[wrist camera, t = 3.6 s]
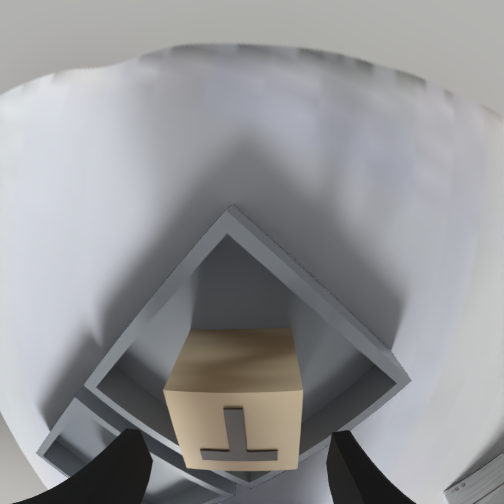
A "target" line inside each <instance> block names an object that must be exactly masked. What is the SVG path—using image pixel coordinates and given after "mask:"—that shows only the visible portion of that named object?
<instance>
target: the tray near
mask: <svg viewBox="0 0 504 504" xmlns="http://www.w3.org/2000/svg"><path fill="white" fill-rule="evenodd" d="M284 327H291V330H292V335H293V340H294V345H295V350H296V355H297V361H298V366H299V371H300V376H301V381H302V387H303V402H302V418H301V432H300V445H299V457H298V464H299V463H300V462H302V461H304V460H305V459H307V458H309V457H310V456H312V455H314V454H315V453H317V452H318V451H320V450H322V449H323V448H325V447H326V446H328V445H329V444H330V441H331V435H332V432H337V431H344V430H349V431H350V430H351V429H352V428H354V427H355V426H357V425H358V424H359V423H361V422H362V421H363V420H365V419H366V418H367V417H369V416H370V415H371V414H372V413H374V412H375V411H376V410H378V409H379V408H380V407H381V406H383V405H384V404H385V403H386V402H387V401H389V400H390V399H391V398H392V397H393V396H395V395H396V394H397V393H398V392H399V391H400V390H401V389H403V388H404V387H405V386H406V385H407V384H408V383H409V382H410V381H412V380H411V379H410V377H409V376H408V375H407V373H406V372H405V370H404V369H403V367H402V366H401V364H400V363H399V362H398V360H397V359H396V357H395V356H394V354H393V353H392V352H391V351H390V350H389V349H388V348H387V347H386V346H385V345H384V344H383V343H382V342H381V341H380V340H379V339H378V338H377V337H376V336H375V335H374V334H373V333H372V332H371V331H370V330H369V329H367V328H366V327H365V326H364V325H363V324H362V323H361V322H360V321H359V320H358V319H357V318H356V317H355V316H354V315H353V314H352V313H351V312H350V311H349V310H347V309H346V308H345V307H344V306H343V305H342V304H341V303H340V302H339V301H338V300H337V299H336V298H335V297H334V296H333V295H332V294H330V293H329V292H328V291H327V290H326V289H325V288H324V287H323V286H322V285H321V284H320V283H319V282H318V281H317V280H315V279H314V278H313V277H312V276H311V275H310V274H309V273H308V272H307V271H306V270H305V269H304V268H303V267H301V266H300V265H299V264H298V263H297V262H296V261H295V260H294V259H293V258H292V257H291V256H289V255H288V254H287V253H286V252H285V251H284V250H283V249H282V248H281V247H280V246H279V245H277V244H276V243H275V242H274V241H273V240H272V239H271V238H270V237H269V236H268V235H266V234H265V233H264V232H263V231H262V230H261V229H260V228H259V227H258V226H256V225H255V224H254V223H253V222H252V221H251V220H250V219H249V218H248V217H246V216H245V215H244V214H243V213H242V212H241V211H240V210H239V209H238V208H236V207H235V206H234V205H232V206H230V207H229V208H228V209H227V210H225V212H224V213H223V214H222V215H221V216H220V217H219V218H218V219H217V221H216V222H215V223H214V224H213V225H212V226H211V227H210V229H209V230H208V231H207V232H206V233H205V234H204V235H203V237H202V238H201V239H200V240H199V241H198V242H197V244H196V245H195V246H194V247H193V248H192V249H191V251H190V252H189V253H188V254H187V255H186V256H185V258H184V259H183V260H182V261H181V262H180V263H179V265H178V266H177V267H176V268H175V269H174V271H173V272H172V273H171V274H170V275H169V277H168V278H167V279H166V280H165V281H164V283H163V284H162V285H161V286H160V287H159V289H158V290H157V291H156V292H155V294H154V295H153V296H152V297H151V298H150V300H149V301H148V302H147V303H146V305H145V306H144V307H143V308H142V310H141V311H140V312H139V313H138V315H137V316H136V317H135V318H134V320H133V321H132V322H131V323H130V325H129V326H128V327H127V328H126V330H125V331H124V332H123V334H122V335H121V336H120V337H119V339H118V340H117V341H116V343H115V344H114V345H113V346H112V348H111V349H110V350H109V352H108V353H107V354H106V356H105V357H104V358H103V360H102V361H101V362H100V363H99V365H98V366H97V367H96V369H95V370H94V371H93V373H92V374H91V376H90V377H89V378H88V380H87V381H86V382H85V384H84V386H85V387H86V388H87V389H88V390H90V391H91V392H92V393H93V394H95V395H96V396H97V397H98V398H99V399H101V400H102V401H103V402H104V403H106V404H107V405H108V406H110V407H111V408H112V409H113V410H115V411H116V412H117V413H119V414H120V415H122V416H123V417H124V418H126V419H127V420H128V421H130V422H131V423H133V424H134V425H135V426H137V427H138V428H140V429H141V430H143V431H144V432H146V433H147V434H149V435H150V436H152V437H153V438H155V439H156V440H158V441H160V442H161V443H163V444H164V445H166V446H168V447H169V448H171V449H173V450H174V451H176V452H178V453H179V454H181V455H182V452H181V449H180V446H179V443H178V440H177V437H176V434H175V430H174V427H173V424H172V420H171V417H170V414H169V410H168V407H167V403H166V399H165V396H164V392H163V389H164V387H165V385H166V382H167V380H168V378H169V376H170V373H171V371H172V369H173V367H174V364H175V362H176V360H177V358H178V356H179V353H180V351H181V349H182V347H183V345H184V342H185V340H186V338H187V336H188V334H189V331H190V330H221V329H261V328H284ZM211 471H213V472H215V473H217V474H219V475H221V476H223V477H225V478H227V479H229V480H231V481H233V482H236V483H238V484H240V485H242V486H245V487H247V488H249V489H251V488H253V487H255V486H257V485H259V484H261V483H263V482H265V481H267V480H269V479H271V478H273V477H275V476H277V475H279V474H281V473H283V472H284V471H286V470H274V471H222V470H211Z"/></svg>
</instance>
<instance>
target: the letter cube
mask: <svg viewBox="0 0 504 504" xmlns="http://www.w3.org/2000/svg"><path fill="white" fill-rule="evenodd" d="M163 392H164V396H165V399H166V403H167V407H168V410H169V414H170V417H171V420H172V424H173V427H174V430H175V434H176V437H177V440H178V443H179V446H180V449H181V452H182V455H183V458H184V461H185V464H186V467H187V468H192V469H204V470H222V471H274V470H292V469H297V468H298V457H299V445H300V432H301V418H302V402H303V387H302V381H301V376H300V371H299V366H298V361H297V355H296V350H295V345H294V340H293V335H292V330H291V327H284V328H261V329H221V330H190V331H189V334H188V336H187V338H186V340H185V342H184V345H183V347H182V349H181V351H180V353H179V356H178V358H177V360H176V362H175V364H174V367H173V369H172V371H171V373H170V376H169V378H168V380H167V382H166V385H165V387H164V389H163Z"/></svg>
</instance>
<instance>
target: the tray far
mask: <svg viewBox="0 0 504 504" xmlns="http://www.w3.org/2000/svg"><path fill="white" fill-rule="evenodd" d="M126 428H130V429H136V430H140V431H141V433H142V436H143V438H144V440H145V443H146V445H147V448H148V450H149V452H150V454H151V457H152V459H153V464H152V470H151V475H150V479H149V483H148V486H147V489H146V491H145V494H144V497H143V500H142V502H141V504H217V503H219V502H222V501H224V500H227V499H229V498H231V497H234V496H235V490H236V482H233V481H231V480H229V479H227V478H225V477H223V476H221V475H219V474H217V473H215V472H213V471H211V470H204V469H192V468H187V467H186V464H185V461H184V458H183V455H181V454H179V453H178V452H176V451H174V450H173V449H171V448H169V447H168V446H166V445H164V444H163V443H161V442H160V441H158V440H156V439H155V438H153V437H152V436H150V435H149V434H147V433H146V432H144V431H143V430H141V429H140V428H138V427H137V426H135V425H134V424H133V423H131V422H130V421H128V420H127V419H126V418H124V417H123V416H122V415H120V414H119V413H117V412H116V411H115V410H113V409H112V408H111V407H110V406H108V405H107V404H106V403H104V402H103V401H102V400H101V399H99V398H98V397H97V396H96V395H95V394H93V393H92V392H91V391H90V390H88V389H87V388H86V387H85V386H83V387H82V388H81V390H80V391H79V392H78V393H77V395H76V396H75V397H74V399H73V400H72V402H71V403H70V404H69V406H68V407H67V409H66V410H65V411H64V413H63V414H62V416H61V417H60V418H59V420H58V421H57V423H56V424H55V426H54V427H53V429H52V430H51V431H50V433H49V434H48V436H47V437H46V439H45V440H44V442H43V443H42V445H41V446H40V448H39V449H38V451H37V452H36V454H38V455H39V456H40V457H41V458H43V459H44V460H45V461H46V462H48V463H49V464H50V465H51V466H53V467H54V468H55V469H57V470H58V471H59V472H61V473H62V474H63V475H65V476H66V477H68V478H70V477H71V476H73V475H74V474H75V473H77V472H78V471H79V470H81V469H82V468H83V467H84V466H86V465H87V464H88V463H89V462H91V461H92V460H93V459H94V458H95V457H96V456H97V455H98V454H100V453H101V452H102V451H103V450H104V449H105V448H106V447H107V446H108V445H109V444H110V443H111V442H112V441H113V440H114V439H115V438H116V437H117V436H119V435H120V434H121V433H122V432H123V431H124V430H125V429H126Z"/></svg>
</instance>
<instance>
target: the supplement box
mask: <svg viewBox="0 0 504 504" xmlns="http://www.w3.org/2000/svg"><path fill="white" fill-rule="evenodd" d="M443 504H504V453H501V454H500V455H499V456H497V457H496V458H495V459H493V460H492V461H491V462H489V463H488V464H486V465H485V466H484V467H482V468H481V469H479V470H478V471H476V472H475V473H473V474H472V475H470V476H469V477H467V478H466V479H464V480H462V481H461V482H459V483H458V484H456V485H454V486H453V487H451V488H449V489H447V490H446V491H444V493H443Z"/></svg>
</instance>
